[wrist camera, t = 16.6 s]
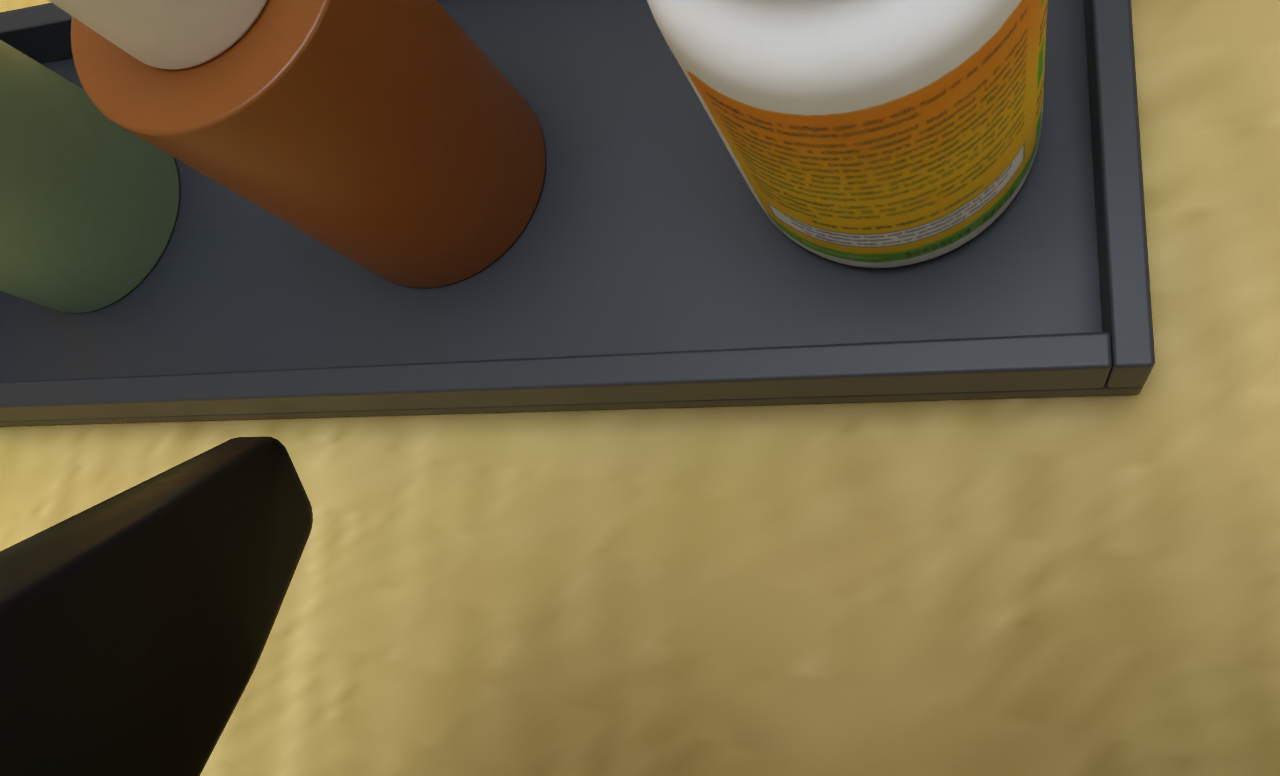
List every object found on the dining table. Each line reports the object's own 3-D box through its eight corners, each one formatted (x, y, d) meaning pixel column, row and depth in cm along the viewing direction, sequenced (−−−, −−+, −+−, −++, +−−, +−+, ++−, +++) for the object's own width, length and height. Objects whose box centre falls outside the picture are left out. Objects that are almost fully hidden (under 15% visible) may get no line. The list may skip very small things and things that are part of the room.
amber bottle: (380, 330, 23) (-48, 118, 14) (315, 146, 24) (-104, -154, 15) (581, 215, 22) (267, -96, 13) (499, 32, 24) (170, -361, 14)
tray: (-42, 427, 27) (-123, 411, 25) (25, 61, 29) (-45, 20, 27) (1140, 395, 18) (1155, 365, 16) (1107, -125, 20) (1118, -205, 18)
